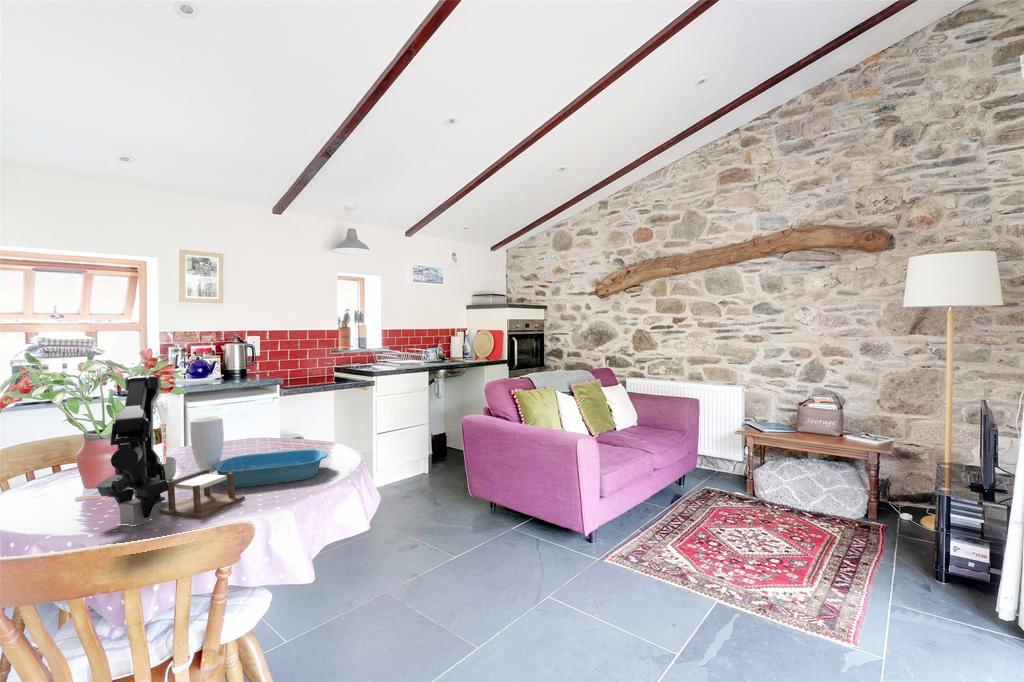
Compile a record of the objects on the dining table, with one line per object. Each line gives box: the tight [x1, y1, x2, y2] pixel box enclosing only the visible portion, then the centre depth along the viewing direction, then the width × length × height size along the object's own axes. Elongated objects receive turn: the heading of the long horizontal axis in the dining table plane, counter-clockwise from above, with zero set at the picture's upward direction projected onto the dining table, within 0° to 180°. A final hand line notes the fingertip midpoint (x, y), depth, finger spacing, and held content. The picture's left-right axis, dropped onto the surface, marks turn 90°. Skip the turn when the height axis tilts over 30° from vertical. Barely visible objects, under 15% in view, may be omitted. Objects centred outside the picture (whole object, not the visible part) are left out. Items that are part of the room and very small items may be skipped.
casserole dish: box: [212, 448, 329, 489], centre depth 176 cm, size 37×22×7 cm, turn 109°
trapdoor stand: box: [158, 469, 246, 519], centre depth 149 cm, size 16×15×9 cm
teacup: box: [157, 456, 177, 481], centre depth 172 cm, size 14×11×8 cm
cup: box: [189, 415, 225, 474], centre depth 175 cm, size 10×10×22 cm
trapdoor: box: [175, 473, 227, 491], centre depth 149 cm, size 8×10×1 cm
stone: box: [118, 497, 153, 526], centre depth 138 cm, size 5×5×6 cm
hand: (136, 516), depth 138 cm, fingers open, 7 cm apart
